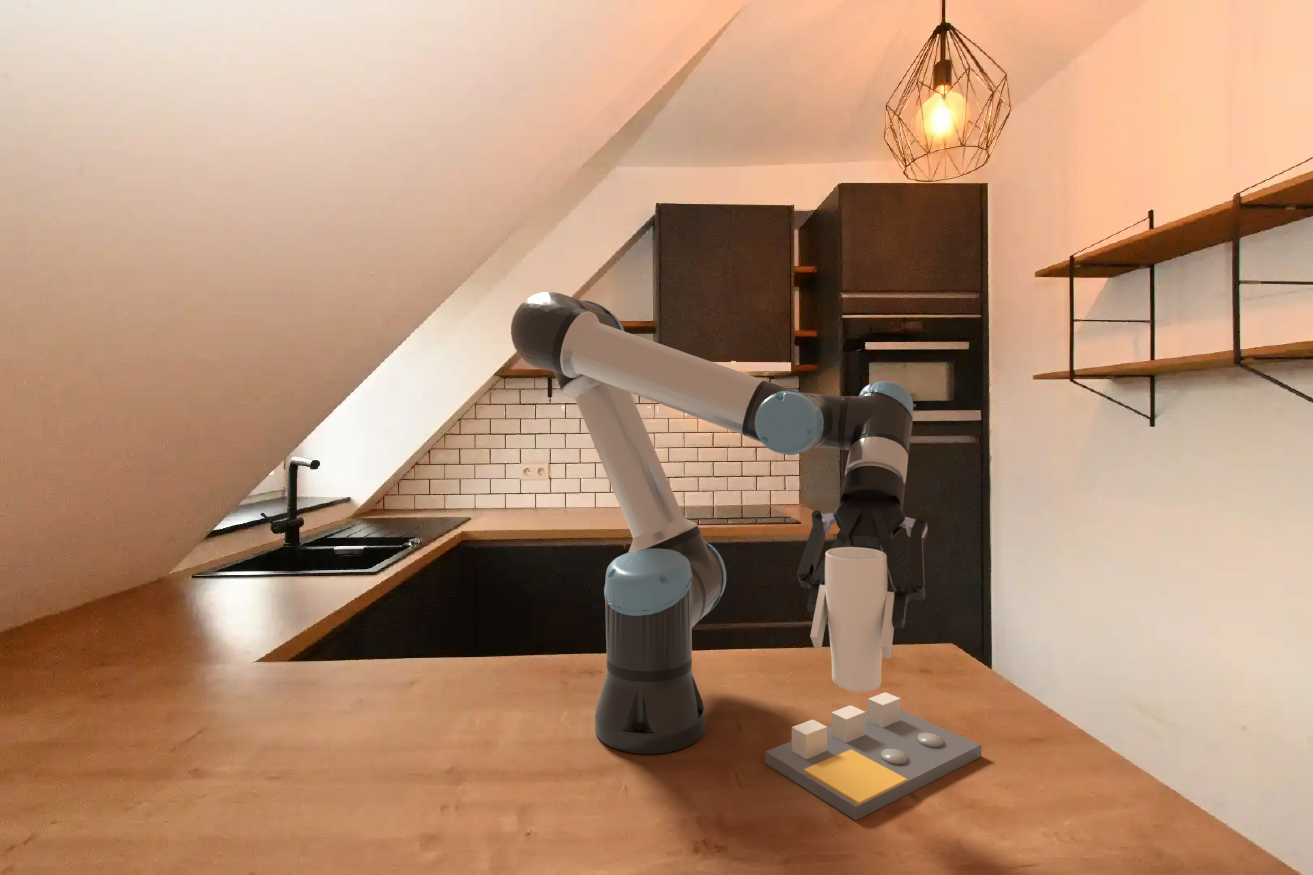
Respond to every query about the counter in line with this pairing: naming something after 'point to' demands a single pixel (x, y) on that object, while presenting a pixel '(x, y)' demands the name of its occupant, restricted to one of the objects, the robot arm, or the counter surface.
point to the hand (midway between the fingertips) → (849, 647)
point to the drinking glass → (856, 615)
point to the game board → (870, 755)
